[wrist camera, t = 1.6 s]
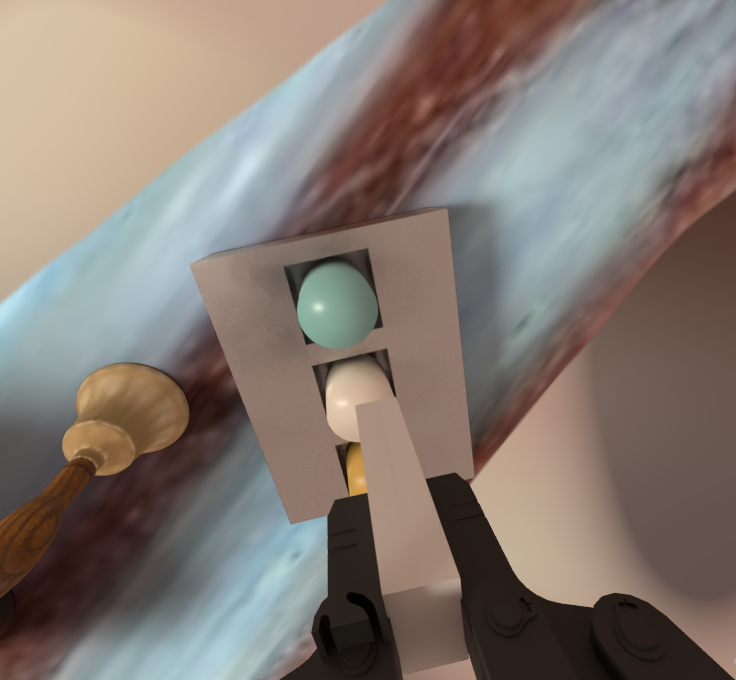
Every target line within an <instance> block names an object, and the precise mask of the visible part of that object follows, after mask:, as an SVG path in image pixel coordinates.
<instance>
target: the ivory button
mask: <svg viewBox="0 0 736 680" xmlns="http://www.w3.org/2000/svg"><path fill="white" fill-rule="evenodd" d="M325 385H326V410H327V421H328V424H329V426H330V428H331V429H332V430H333V432H334V433H335V434H336V435H338V436H339V437H341V438H343V439H345V440H348V441H352V442H360V436H359V429H358V422H357V415H356V408H355V405H359V404H364V403H368V402H373V401H378V400H383V399H387V398H392V397H394V395H393V392H392V390H391V387H390V385H389V382H388V379H387V377H386V374H385V372H384V369H383V367H382V365H381V364H380V363H379V362H378V361H377V360H376V359H375V358H374V357H372V356H370V355H367V354H360V355H356V356H352V357H348V358H343V359H339V360H335V361H334V362H333V363H332V364H331V366H330V367H329V369H328V371H327V374H326V379H325Z"/></svg>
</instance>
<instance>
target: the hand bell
mask: <svg viewBox="0 0 736 680" xmlns="http://www.w3.org/2000/svg"><path fill="white" fill-rule="evenodd" d="M76 410H77V415H78V418H77V420H76V421H75V423H74V424H73V425H72V426H71V427H70V428H69V430H68V431H67V432H66V434H65V436H64V438H63V442H62V449H63V453H64V455H65V457H66V459H67V460H68V461H69V462H68V463H67V464H66V465H65V466H64V468H63V469H62V470H61V471H60V472H59V473H58V475H57V476H56V477H55V478H54V479H53V481H52V482H51V483H50V484H49V485H48V486H47V487H46V488H45V489H44V491H43V492H42V493H40V494H39V495H38V496H37V497H35V498H34V499H32V500H31V501H29V502H27V503H26V504H24V505H22V506H21V507H19V508H18V509H16V510H15V511H13V512H12V513H10V514H9V515H8V516H6V517H5V518H4V519H3V520H1V521H0V598H1V597H2V596H3V595H4V594H5V593H7V592H8V591H9V590H10V589H12V588H13V587H14V586H15V585H17V584H18V583H19V582H20V581H21V580H22V579H23V578H24V577H25V576H26V575H27V574H28V573H29V572H30V571H31V569H32V568H33V567H34V566H35V565H36V563H37V562H38V561H39V560H40V558H41V557H42V556H43V555H44V553H45V552H46V550H47V549H48V547H49V546H50V544H51V543H52V541H53V539H54V537H55V535H56V534H57V532H58V529H59V527H60V525H61V522H62V520H63V517H64V514H65V512H66V510H67V508H68V506H69V505H70V503H71V502H72V501H73V500H74V498H75V497H76V496H77V495H78V494H79V493H80V492H81V490H82V489H83V488H84V487H85V486H86V485H87V484H88V482H89V481H91V479H92V478H93V477H94V476H95V475H99V476H105V475H112V474H115V473H118V472H120V471H122V470H124V469H126V468H127V467H128V466H129V465H130V464H131V463H132V462H133V461H134V460H135V459H136V458H137V457H138V456H139V455H140V454H142V453H149V452H154V451H157V450H160V449H163V448H165V447H167V446H169V445H171V444H172V443H174V442H175V441H176V440H177V439H178V438H179V437H180V436H181V435H182V434H183V433H184V431H185V429H186V427H187V425H188V421H189V405H188V402H187V399H186V396H185V395H184V393H183V391H182V390H181V389H180V387H179V386H178V385H177V384H176V383H175V382H174V381H173V380H172V379H171V378H169V377H168V376H167V375H165V374H164V373H162V372H160V371H159V370H156V369H153V368H151V367H148V366H145V365H140V364H134V363H118V364H112V365H108V366H105V367H102V368H100V369H98V370H96V371H95V372H93V373H92V374H90V375H89V376H88V377H87V378H86V379H85V380H84V382H83V383H82V385H81V386H80V388H79V391H78V394H77V399H76Z"/></svg>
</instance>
